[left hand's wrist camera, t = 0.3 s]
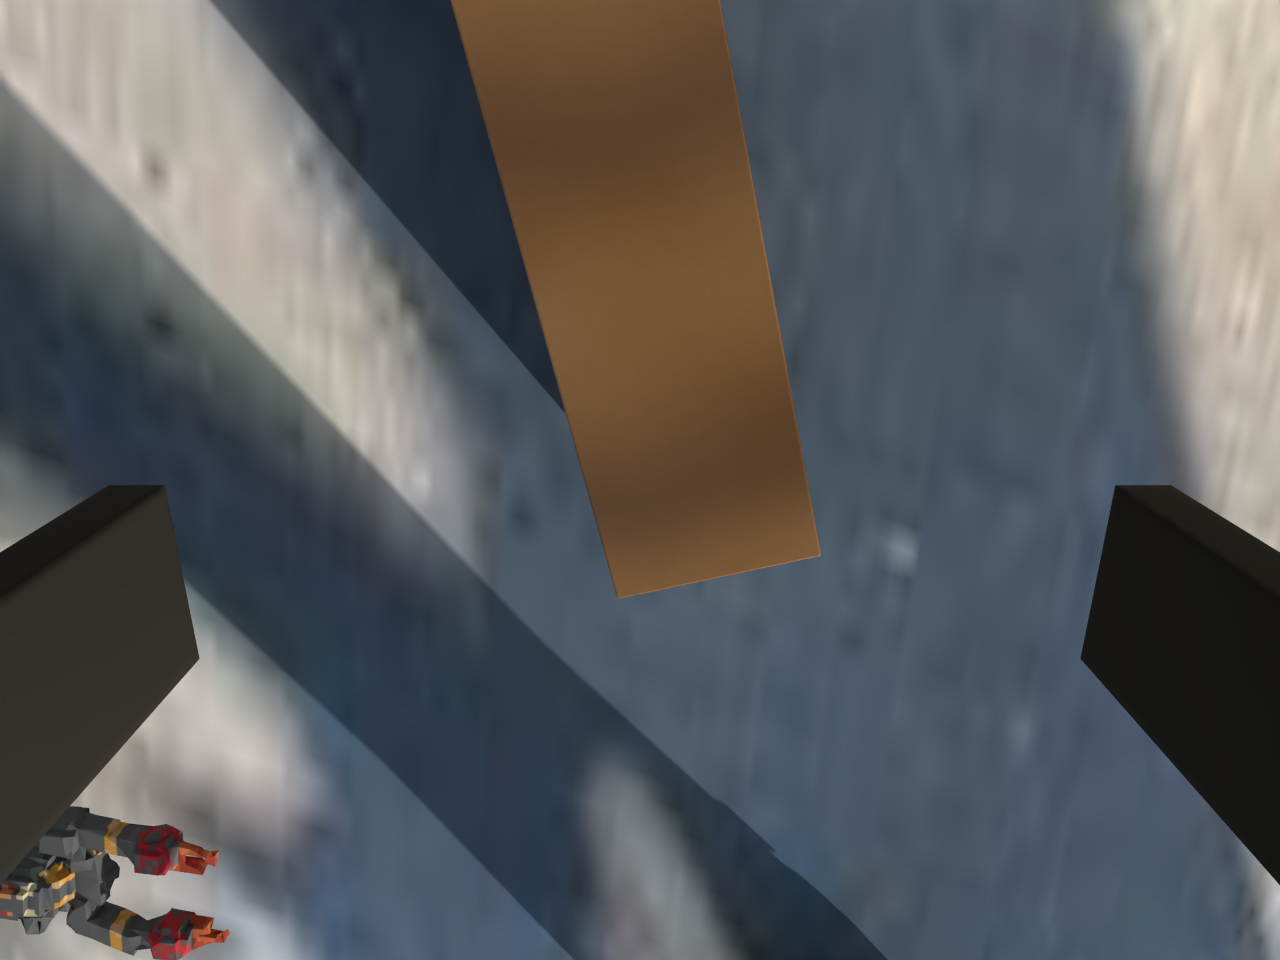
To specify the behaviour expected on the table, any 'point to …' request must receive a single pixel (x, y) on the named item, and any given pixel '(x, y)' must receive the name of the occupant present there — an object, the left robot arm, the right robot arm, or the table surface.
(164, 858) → the toy
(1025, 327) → the table surface
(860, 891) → the table surface
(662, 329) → the box
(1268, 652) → the left robot arm
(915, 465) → the table surface
